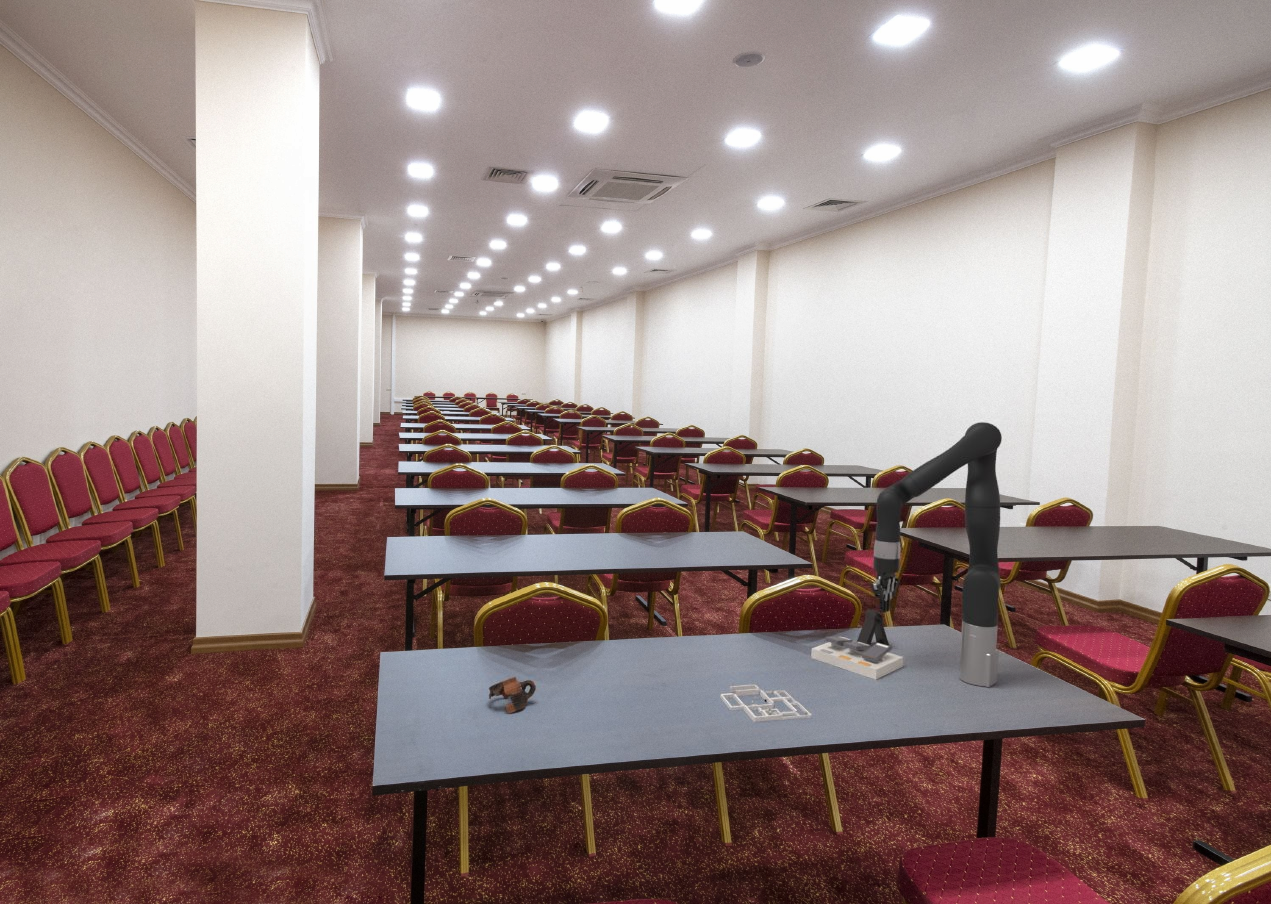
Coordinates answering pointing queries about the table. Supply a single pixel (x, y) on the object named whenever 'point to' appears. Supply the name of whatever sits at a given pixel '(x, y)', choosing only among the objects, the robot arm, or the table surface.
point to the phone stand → (873, 629)
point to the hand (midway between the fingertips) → (884, 611)
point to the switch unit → (856, 660)
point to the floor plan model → (766, 715)
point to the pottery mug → (513, 693)
